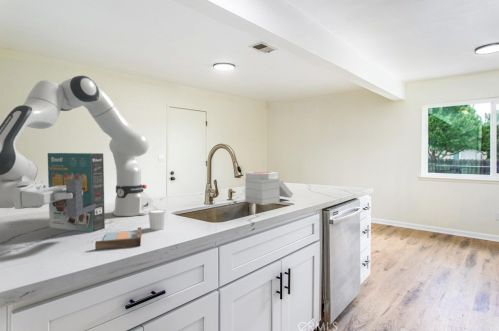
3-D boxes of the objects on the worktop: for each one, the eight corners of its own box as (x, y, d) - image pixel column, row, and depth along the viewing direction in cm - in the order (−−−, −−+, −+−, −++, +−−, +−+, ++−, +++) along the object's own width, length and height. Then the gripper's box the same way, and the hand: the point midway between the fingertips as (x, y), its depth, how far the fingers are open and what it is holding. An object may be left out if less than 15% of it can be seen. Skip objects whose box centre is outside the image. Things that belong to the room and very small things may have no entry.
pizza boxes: (295, 200, 189) (295, 172, 188) (262, 206, 169) (262, 174, 168) (273, 196, 203) (273, 170, 202) (240, 201, 183) (240, 172, 182)
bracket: (76, 216, 95) (75, 179, 95) (66, 216, 95) (65, 179, 95) (95, 208, 108) (95, 176, 108) (87, 208, 108) (86, 176, 108)
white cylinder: (161, 225, 124) (161, 208, 124) (169, 228, 119) (169, 211, 119) (145, 228, 119) (145, 211, 119) (153, 231, 114) (153, 213, 114)
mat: (106, 233, 111) (106, 232, 111) (141, 230, 115) (141, 229, 115) (98, 249, 93) (98, 248, 93) (140, 245, 97) (140, 244, 97)
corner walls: (102, 237, 107) (102, 230, 107) (141, 234, 111) (141, 227, 111) (95, 250, 93) (95, 242, 93) (140, 245, 97) (140, 238, 97)
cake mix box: (104, 228, 119) (103, 153, 118) (92, 232, 113) (90, 153, 112) (63, 223, 126) (61, 153, 124) (49, 227, 120) (47, 153, 118)
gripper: (53, 198, 107) (93, 198, 108) (10, 210, 87) (59, 210, 87) (53, 181, 107) (92, 181, 107) (9, 188, 86) (58, 188, 87)
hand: (77, 194), depth 97 cm, fingers closed on bracket, 4 cm apart
